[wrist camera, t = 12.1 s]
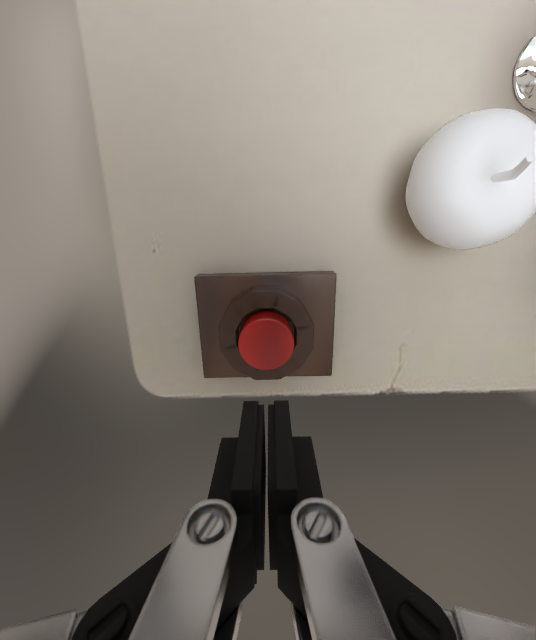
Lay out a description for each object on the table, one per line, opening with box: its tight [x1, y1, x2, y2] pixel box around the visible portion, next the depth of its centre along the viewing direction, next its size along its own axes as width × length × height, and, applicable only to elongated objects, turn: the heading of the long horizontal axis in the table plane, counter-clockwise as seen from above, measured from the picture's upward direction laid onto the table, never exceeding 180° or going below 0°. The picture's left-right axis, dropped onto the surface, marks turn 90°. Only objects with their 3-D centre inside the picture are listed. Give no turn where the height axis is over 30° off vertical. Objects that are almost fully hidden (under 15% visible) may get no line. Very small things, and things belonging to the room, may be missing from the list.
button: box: [238, 311, 294, 370], centre depth 20 cm, size 4×4×2 cm
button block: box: [194, 271, 336, 380], centre depth 22 cm, size 10×8×3 cm
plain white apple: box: [405, 108, 536, 250], centre depth 16 cm, size 7×7×8 cm
